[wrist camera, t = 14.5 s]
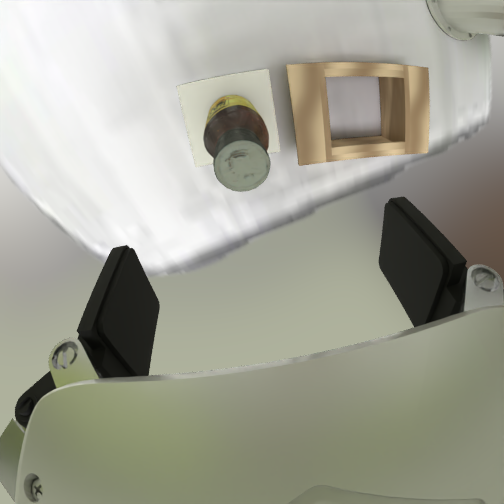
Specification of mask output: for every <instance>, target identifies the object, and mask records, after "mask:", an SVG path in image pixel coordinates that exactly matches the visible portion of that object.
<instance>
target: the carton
mask: <svg viewBox="0 0 504 504" xmlns="http://www.w3.org/2000/svg"><path fill="white" fill-rule="evenodd" d="M286 68H287V75H288V82H289V89H290V96H291V104H292V112H293V119H294V128H295V136H296V145H297V155H298V164H299V166H302V165H309V164H316V163H323V162H331V161H339V160H348V159H357V158H367V157H378V156H390V155H403V154H418V153H428V144H429V73H428V68H426V67H418V66H409V65H399V64H386V63H367V62H324V63H303V64H291V65H286ZM338 76H376V77H379V87H380V106H381V136H371V137H357V138H345V139H335V140H331V133H330V120H329V109H328V98H327V89H326V80H325V77H338Z"/></svg>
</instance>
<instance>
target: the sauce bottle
mask: <svg viewBox="0 0 504 504" xmlns="http://www.w3.org/2000/svg"><path fill="white" fill-rule="evenodd" d="M203 141H204V146H205V148H206V150H207V152H208V153H209V154H210V155H211V156H212V157H213V164H214V171H215V175H216V177H217V179H218V180H219V181H220V183H222V184H223V185H224V186H225V187H226V188H229V189H231V190H233V191H240V192H242V191H249V190H252V189H254V188H257V187H258V186H259V185H261V184H262V183H263V182H264V180H265V179H266V178H267V176H268V173H269V170H270V159H269V155H268V152H267V150H268V147H269V133H268V130H267V127H266V125H265V122H264V120H263V119H262V117H261V116H260V114H259V113H258V112H257V110H256V109H255V107H254V106H253V105H252V103H251V102H250V101H249V100H247V99H246V98H244V97H241V96H238V95H227V96H224V97H221V98H219V99H218V100H217V101H215V102H214V104H213V105H212V106H211V108H210V110H209V113H208V117H207V121H206V125H205V129H204V135H203Z"/></svg>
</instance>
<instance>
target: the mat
mask: <svg viewBox="0 0 504 504" xmlns="http://www.w3.org/2000/svg"><path fill="white" fill-rule="evenodd" d="M177 90H178V95H179V99H180V103H181V108H182V112H183V116H184V121H185V125H186V129H187V133H188V138H189V142H190V146H191V150H192V154H193V158H194V162H195V166H196V167H200V166H205V165H210V164H213V157H212V156H211V155H210V154H209V153H208V152H207V150H206V148H205V146H204V141H203V135H204V129H205V125H206V121H207V117H208V113H209V110H210V108H211V106H212V105H213V104H214V102H215V101H217V100H218V99H219V98H221V97H224V96H227V95H238V96H241V97H244V98H246V99H247V100H249V101H250V102H251V103H252V105H253V106H254V107H255V109H256V110H257V112H258V113H259V114H260V116H261V117H262V119H263V120H264V122H265V125H266V127H267V130H268V133H269V147H268V150H267V152H268V154H269V153H275V152H280V145H279V137H278V130H277V123H276V116H275V109H274V102H273V95H272V89H271V82H270V76H269V70H268V69H262V70H255V71H248V72H242V73H235V74H230V75H224V76H219V77H214V78H209V79H204V80H200V81H195V82H191V83H187V84H183V85H179V86H177Z"/></svg>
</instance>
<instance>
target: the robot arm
mask: <svg viewBox="0 0 504 504" xmlns="http://www.w3.org/2000/svg"><path fill="white" fill-rule="evenodd" d="M427 4H428V7H429V10H430V12H431V14H432V16H433V18H434V19H435V21H436V22H437V24H438V25H439V26H440V28H441V29H442V30H443V31H444V32H445V33H447V34H448V35H449V36H451V37H452V38H455V39H457V40H463V41H468V40H471V39H473V38H474V37H475V36H476V34H488V35H496V36H504V0H427ZM466 262H467V261H466V259H465V258H464V257H463V256H462V255H461V254H460V253H459V252H458V250H457V249H456V248H455V247H454V246H453V245H452V244H451V243H450V242H449V241H448V239H447V238H446V237H445V236H444V235H443V234H442V233H441V232H440V231H439V230H438V229H437V228H436V227H435V226H434V225H433V224H432V223H431V222H430V221H429V220H428V219H427V218H426V217H425V216H424V215H423V214H422V213H421V212H420V211H419V210H418V209H417V208H416V207H415V206H414V205H413V204H412V203H411V202H409V201H408V200H407V199H406V198H405V197H398V198H391V199H390V200H389V201H388V203H386V204H385V210H384V221H383V230H382V240H381V247H380V256H379V266H380V269H381V271H382V272H383V274H384V275H385V277H386V279H387V280H388V282H389V283H390V285H391V287H392V289H393V290H394V292H395V294H396V295H397V297H398V299H399V301H400V302H401V304H402V306H403V307H404V309H405V311H406V313H407V315H408V317H409V318H410V320H411V322H412V324H413V325H414V328H411V329H408V330H404V331H401V332H398V333H394V334H391V335H387V336H384V337H380V338H377V339H373V340H369V341H365V342H362V343H358V344H354V345H350V346H345V347H341V348H337V349H333V350H328V351H324V352H320V353H315V354H310V355H305V356H300V357H295V358H290V359H284V360H279V361H273V362H267V363H261V364H254V365H247V366H240V367H233V368H226V369H218V370H210V371H200V372H190V373H179V374H166V375H152V376H149V368H150V362H151V354H152V349H153V342H154V337H155V331H156V325H157V319H158V314H159V301H158V298H157V297H156V294H155V292H154V291H153V289H152V286H151V285H150V282H149V280H148V278H147V276H146V274H145V272H144V270H143V268H142V265H141V263H140V261H139V259H138V257H137V255H136V252H135V250H134V249H133V248H129V247H128V246H127V245H125V246H120V247H116V248H113V249H112V250H111V252H110V254H109V256H108V258H107V261H106V263H105V265H104V267H103V269H102V272H101V273H100V276H99V278H98V280H97V282H96V285H95V287H94V289H93V292H92V294H91V297H90V299H89V301H88V303H87V306H86V308H85V311H84V313H83V316H82V318H81V321H80V324H79V327H78V329H77V332H78V333H79V336H78V339H76V338H68V339H64V340H63V341H61V342H59V343H58V344H57V345H56V346H55V347H54V349H53V350H52V351H51V354H50V356H49V368H50V371H49V372H48V373H47V374H46V375H44V376H43V377H42V378H41V379H40V380H39V381H37V382H36V383H35V384H34V385H33V386H32V387H31V388H30V389H28V390H27V391H26V392H25V393H24V394H23V395H22V396H21V397H20V398H19V399H18V401H17V404H16V407H15V417H16V421H15V420H14V419H12V420H11V421H10V423H9V424H8V426H7V427H6V429H5V430H4V432H3V433H2V435H1V437H0V482H1V483H2V485H3V486H4V488H5V489H6V490H7V492H8V493H9V495H10V496H11V498H12V499H13V500H14V502H15V504H504V289H503V283H502V279H501V278H500V276H499V275H498V274H497V273H496V272H495V271H494V270H493V269H491V268H490V267H487V266H484V265H474V266H471V267H470V268H469V269H467V268H466V266H465V265H466Z"/></svg>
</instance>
